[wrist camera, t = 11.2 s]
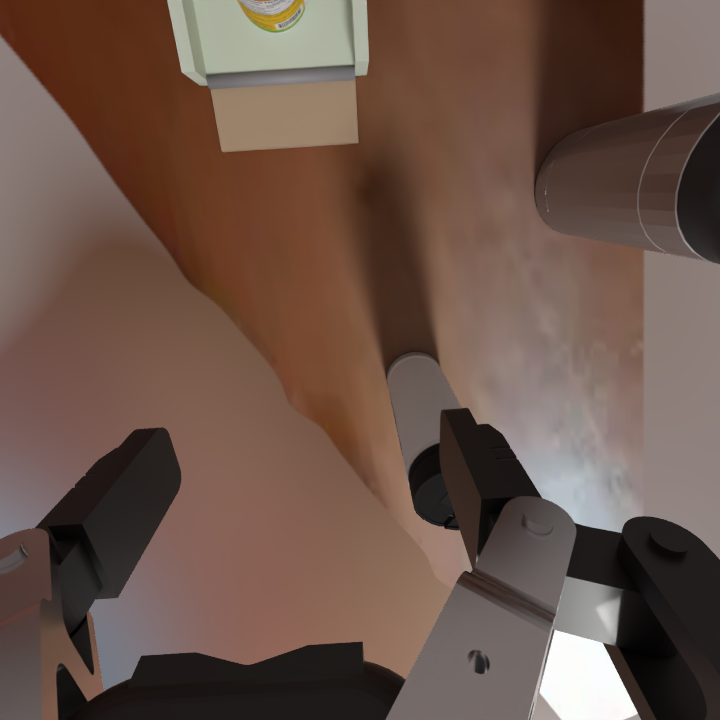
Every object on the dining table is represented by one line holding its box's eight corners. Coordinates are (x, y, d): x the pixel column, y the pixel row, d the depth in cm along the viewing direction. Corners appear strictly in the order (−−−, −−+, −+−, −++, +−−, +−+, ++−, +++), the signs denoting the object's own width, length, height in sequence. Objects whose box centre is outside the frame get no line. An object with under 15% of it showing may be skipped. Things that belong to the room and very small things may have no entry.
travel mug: (453, 364, 44) (530, 489, 25) (421, 408, 46) (471, 553, 27) (406, 339, 42) (452, 452, 24) (376, 385, 44) (396, 522, 26)
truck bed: (357, -128, 28) (359, -176, 24) (369, 142, 34) (372, 136, 31) (162, -116, 28) (134, -163, 24) (213, 152, 34) (197, 148, 31)
